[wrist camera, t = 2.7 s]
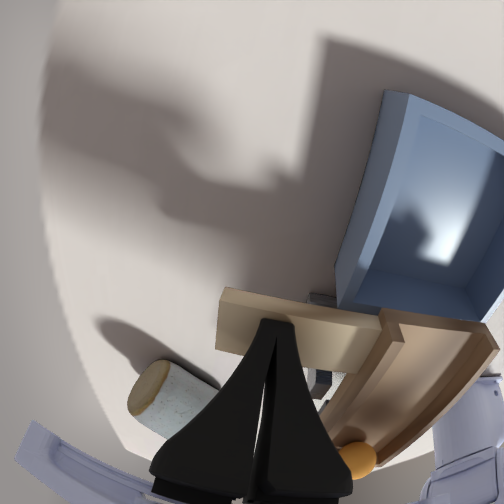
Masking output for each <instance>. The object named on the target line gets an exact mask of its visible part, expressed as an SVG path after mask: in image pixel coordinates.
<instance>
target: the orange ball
mask: <svg viewBox="0 0 504 504" xmlns="http://www.w3.org/2000/svg"><path fill="white" fill-rule="evenodd" d="M339 454H340V455H341V457H342V459H343V460H344V462H345V463H346V464H347V466H348V467H349V469H350V470H351V474H352V480H354V479H359V478H362V477H364V476H366V475H367V474H369V473H370V472H371V471H372V469H373V468H374V466H375V464H376V459H377V457H376V452H375V450H374V449H373V447H372V446H370V445H369V444H367V443H364V442H352V443H349V444H347V445H345V446H344V447H343V448H341V449H340V450H339Z"/></svg>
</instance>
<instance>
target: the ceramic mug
mask: <svg viewBox="0 0 504 504" xmlns="http://www.w3.org/2000/svg"><path fill="white" fill-rule="evenodd" d="M218 392H219V391H218V390H217V389H215V388H213V387H211V386H210V385H208V384H207V383H205V382H203V381H202V380H200V379H198V378H197V377H195V376H193V375H192V374H190V373H189V372H187V371H186V370H184V369H183V368H181V367H180V366H178V365H176V364H174V363H172V362H170V361H168V360H158V361H155V362H154V363H152V364H151V365H150V366H149V367H148V368H147V369H146V370H145V371H144V372H143V373H142V374H141V376H140V377H139V378H138V380H137V381H136V383H135V385H134V386H133V388H132V390H131V393H130V395H129V397H128V401H127V406H128V411H129V413H130V414H131V415H132V416H133V417H134V418H135V419H136V420H138V421H139V422H140V423H141V424H143V425H144V426H146V427H147V428H149V429H151V430H152V431H154V432H156V433H158V434H159V435H161V436H162V437H164V438H166V439H167V440H168V439H169V438H171V437H172V436H173V435H174V434H176V433H177V432H178V431H179V430H181V429H182V428H183V427H184V426H185V425H187V424H188V423H189V422H190V421H191V420H192V419H193V418H194V417H195V416H196V415H197V414H198V413H199V412H200V411H201V410H202V409H203V408H204V407H205V406H206V405H207V404H208V403H209V402H210V401H211V400H212V399H213V398H214V396H215V395H216V394H217V393H218Z"/></svg>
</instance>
